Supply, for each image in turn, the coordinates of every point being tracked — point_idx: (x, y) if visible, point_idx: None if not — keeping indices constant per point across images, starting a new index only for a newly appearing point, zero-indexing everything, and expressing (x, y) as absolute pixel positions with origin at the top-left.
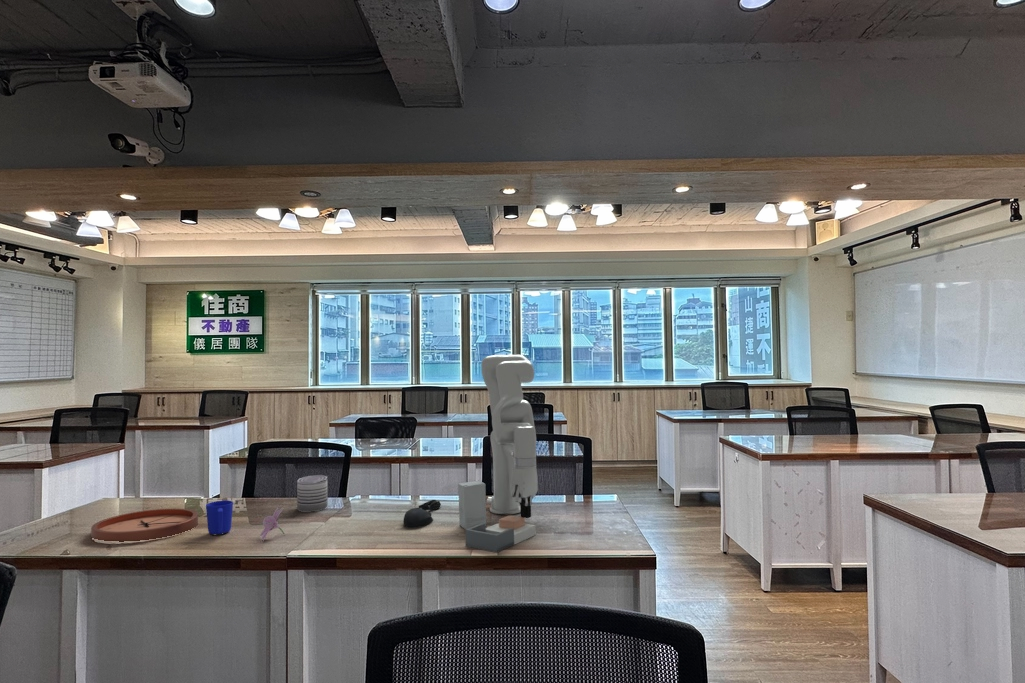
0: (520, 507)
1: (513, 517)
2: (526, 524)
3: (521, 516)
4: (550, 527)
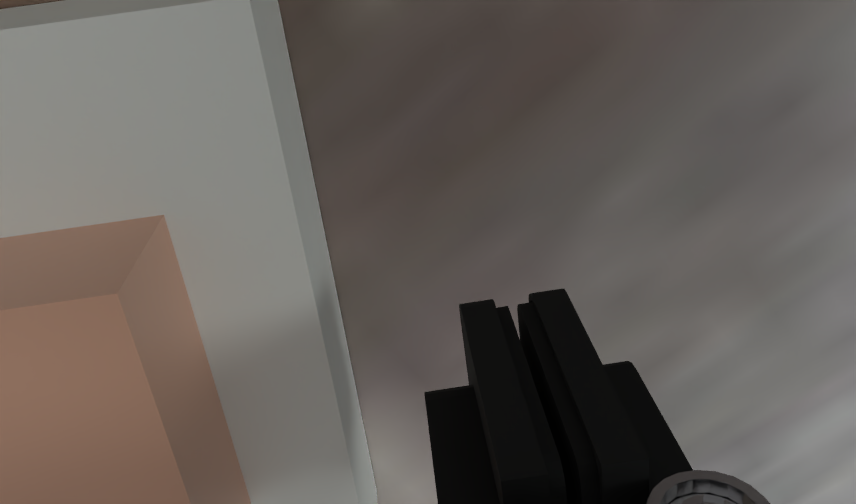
0: (488, 433)
1: (60, 475)
2: (316, 487)
3: (461, 323)
4: (770, 422)
